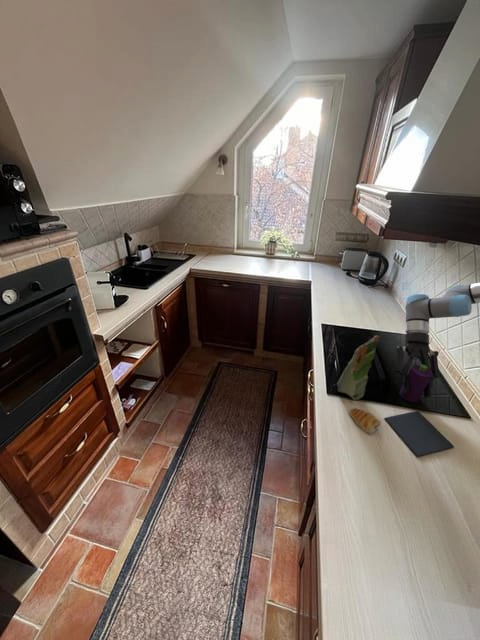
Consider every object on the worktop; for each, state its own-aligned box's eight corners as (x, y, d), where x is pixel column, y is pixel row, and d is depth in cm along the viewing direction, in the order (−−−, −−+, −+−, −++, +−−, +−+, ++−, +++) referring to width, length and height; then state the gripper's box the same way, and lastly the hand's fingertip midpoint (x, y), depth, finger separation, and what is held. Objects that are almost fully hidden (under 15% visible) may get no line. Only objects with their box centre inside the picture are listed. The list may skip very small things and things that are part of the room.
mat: (417, 412, 91) (418, 410, 91) (453, 447, 80) (454, 446, 79) (384, 419, 88) (384, 417, 88) (416, 457, 77) (417, 455, 76)
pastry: (345, 416, 89) (347, 409, 87) (355, 408, 92) (358, 400, 90) (370, 436, 82) (373, 429, 80) (381, 426, 86) (384, 418, 84)
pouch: (361, 382, 103) (379, 331, 91) (369, 405, 93) (391, 351, 81) (333, 378, 105) (347, 327, 92) (338, 401, 95) (355, 347, 82)
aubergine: (409, 388, 101) (424, 359, 93) (422, 401, 96) (439, 371, 88) (395, 391, 100) (409, 361, 92) (408, 403, 94) (424, 373, 87)
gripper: (438, 339, 100) (439, 399, 94) (386, 332, 103) (383, 390, 98) (451, 335, 92) (453, 400, 87) (394, 328, 96) (392, 390, 90)
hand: (416, 394), depth 92 cm, fingers closed on aubergine, 6 cm apart
